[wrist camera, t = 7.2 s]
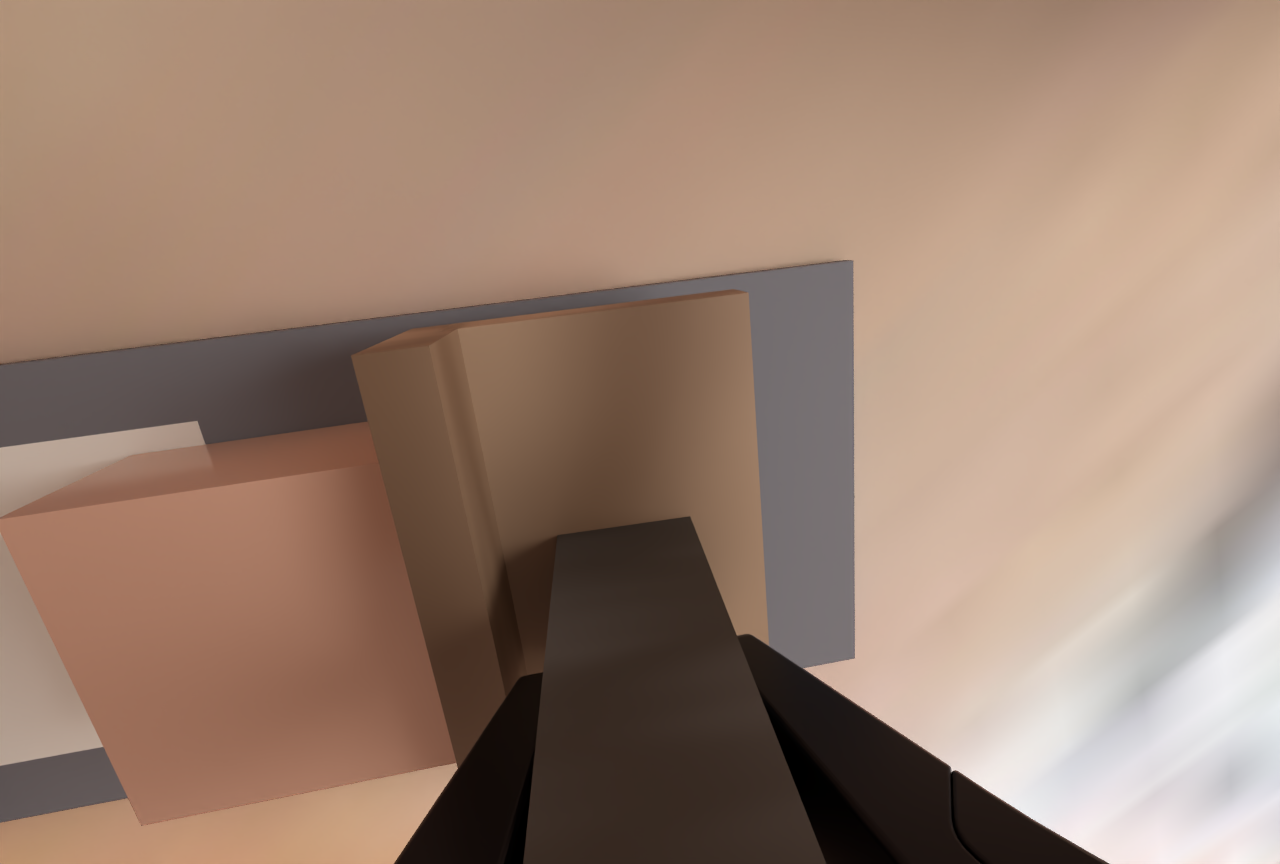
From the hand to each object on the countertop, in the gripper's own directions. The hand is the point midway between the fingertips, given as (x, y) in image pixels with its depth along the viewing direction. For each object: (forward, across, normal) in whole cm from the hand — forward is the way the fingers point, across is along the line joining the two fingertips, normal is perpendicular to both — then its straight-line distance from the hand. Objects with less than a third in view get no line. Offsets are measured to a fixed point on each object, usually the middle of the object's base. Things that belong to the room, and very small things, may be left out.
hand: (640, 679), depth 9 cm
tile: (+5, +6, 0) cm, 8 cm away
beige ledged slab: (+4, 0, 0) cm, 4 cm away
